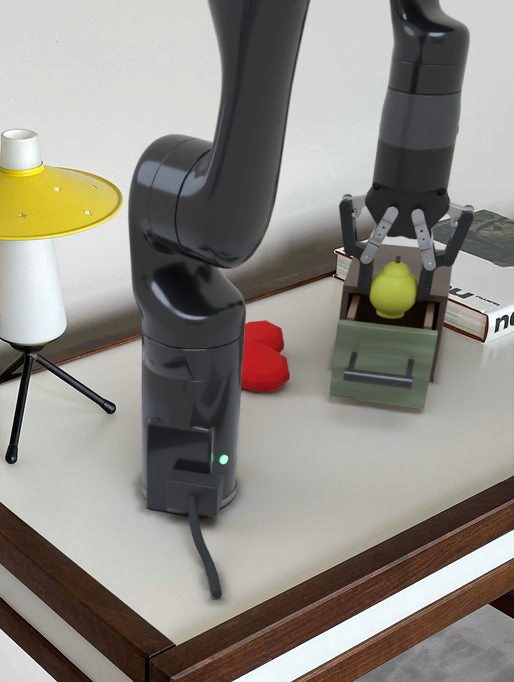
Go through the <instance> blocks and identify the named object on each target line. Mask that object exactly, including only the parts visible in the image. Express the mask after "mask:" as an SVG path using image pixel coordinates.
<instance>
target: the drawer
mask: <svg viewBox="0 0 514 682" xmlns="http://www.w3.org/2000/svg"><path fill="white" fill-rule="evenodd" d="M434 307H435V302H432V301H423V300H422V303H419V302H416V301H415V303H414V304H413V305H412V307H411V308H410V309H408V310H407V311H405V312H404V316H402V317H400V318H395V319H391V318H384V317H381V316H379V315H378V314H377V313H376V310H377V309H376V308H375V307H374V306H373V304H372V303H371V300H370V297H367V296H362V294H358V293H354V296H353V299H352V302H351V305H350V309H349V312H348V315H347V320H340V319H339V318H338V321H337V325H336V334H335V342H334V350H333V351H334V352H333V358H332V359H333V360H332V368H331V377H330V385H329V394H328V396H329V397H333V398H339V399H347V400H354V401H362V402H370V403H378V404H384V405H393V406H399V407H408V408H415V409H421V410H424V409H425V407H426V400H427V395H428V391H429V383H430V382H429V379H430V374H431V368H432V363H433V357H434V351H435V346H436V340H437V334H438V331H435V330H431V327H432V321H433V314H434Z"/></svg>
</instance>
